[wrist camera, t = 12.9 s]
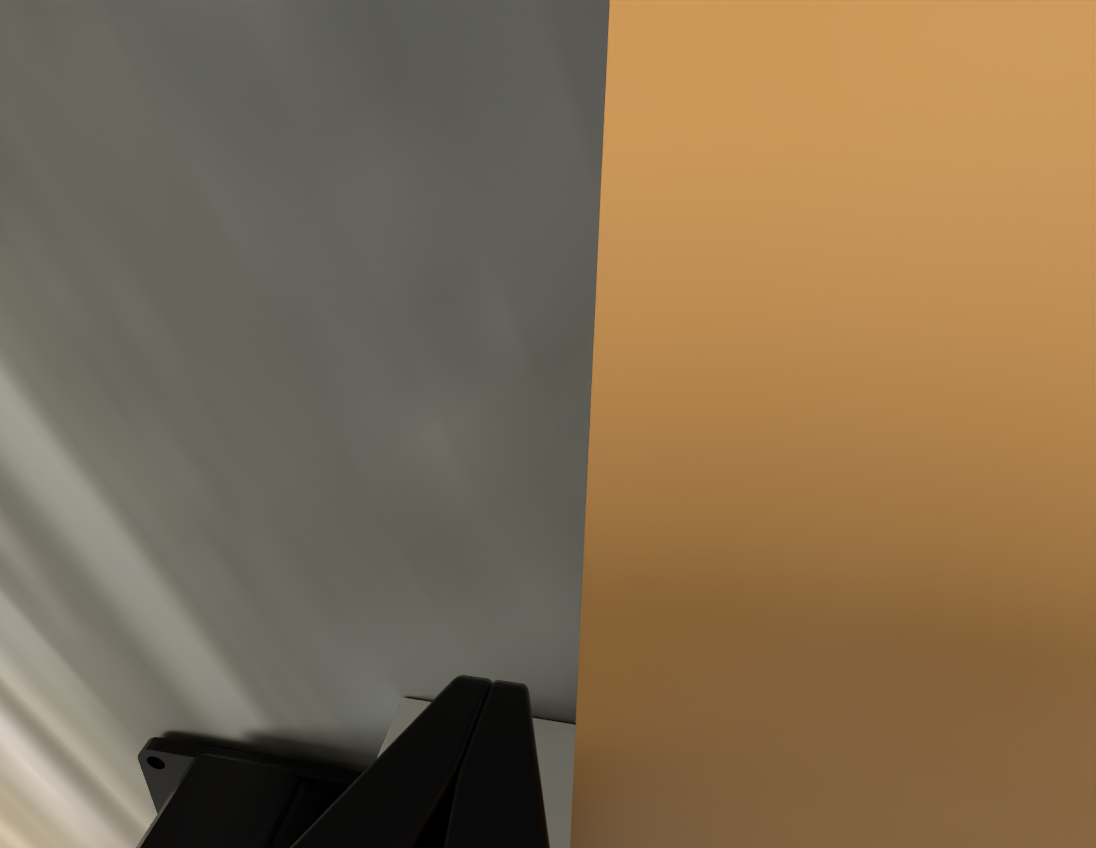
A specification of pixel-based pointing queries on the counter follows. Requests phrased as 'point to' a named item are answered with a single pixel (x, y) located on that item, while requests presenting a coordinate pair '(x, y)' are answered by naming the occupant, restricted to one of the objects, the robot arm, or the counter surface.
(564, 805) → the housing
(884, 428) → the orange cover
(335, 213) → the counter surface
